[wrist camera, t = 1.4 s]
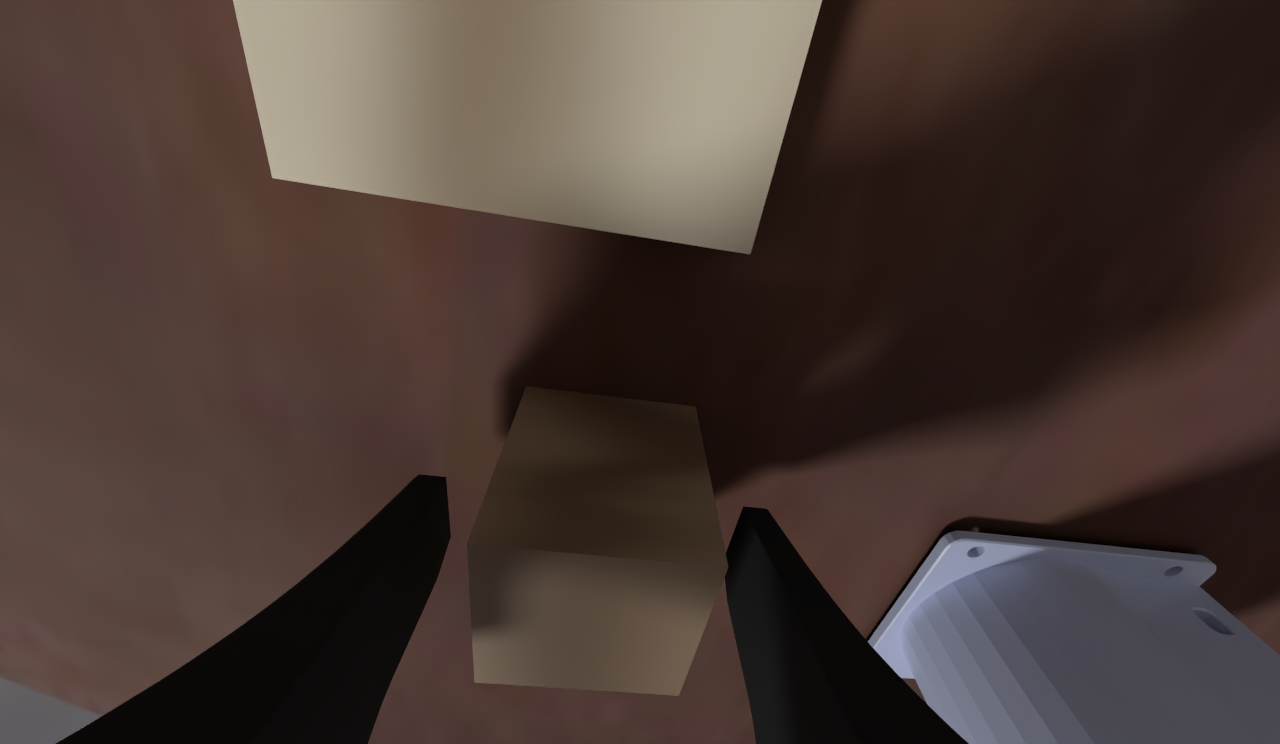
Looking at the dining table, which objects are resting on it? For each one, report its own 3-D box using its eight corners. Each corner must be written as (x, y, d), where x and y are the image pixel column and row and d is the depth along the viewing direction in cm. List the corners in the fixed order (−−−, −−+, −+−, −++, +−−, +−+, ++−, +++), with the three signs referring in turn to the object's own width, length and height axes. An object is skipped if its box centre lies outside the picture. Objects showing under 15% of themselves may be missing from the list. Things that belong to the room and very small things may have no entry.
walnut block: (695, 405, 12) (728, 566, 8) (665, 520, 15) (678, 695, 10) (526, 384, 12) (467, 543, 8) (522, 506, 14) (474, 682, 10)
